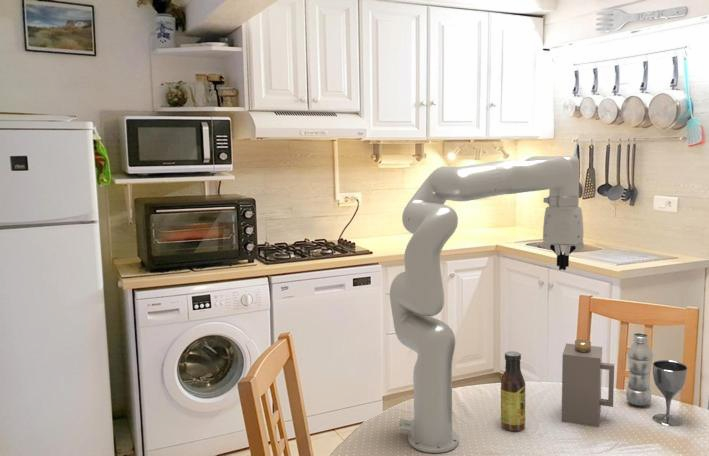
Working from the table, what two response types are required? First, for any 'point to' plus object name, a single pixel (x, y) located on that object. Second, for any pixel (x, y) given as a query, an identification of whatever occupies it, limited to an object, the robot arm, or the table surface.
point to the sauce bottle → (512, 394)
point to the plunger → (582, 345)
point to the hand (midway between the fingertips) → (562, 268)
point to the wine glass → (669, 387)
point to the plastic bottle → (639, 371)
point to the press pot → (584, 385)
